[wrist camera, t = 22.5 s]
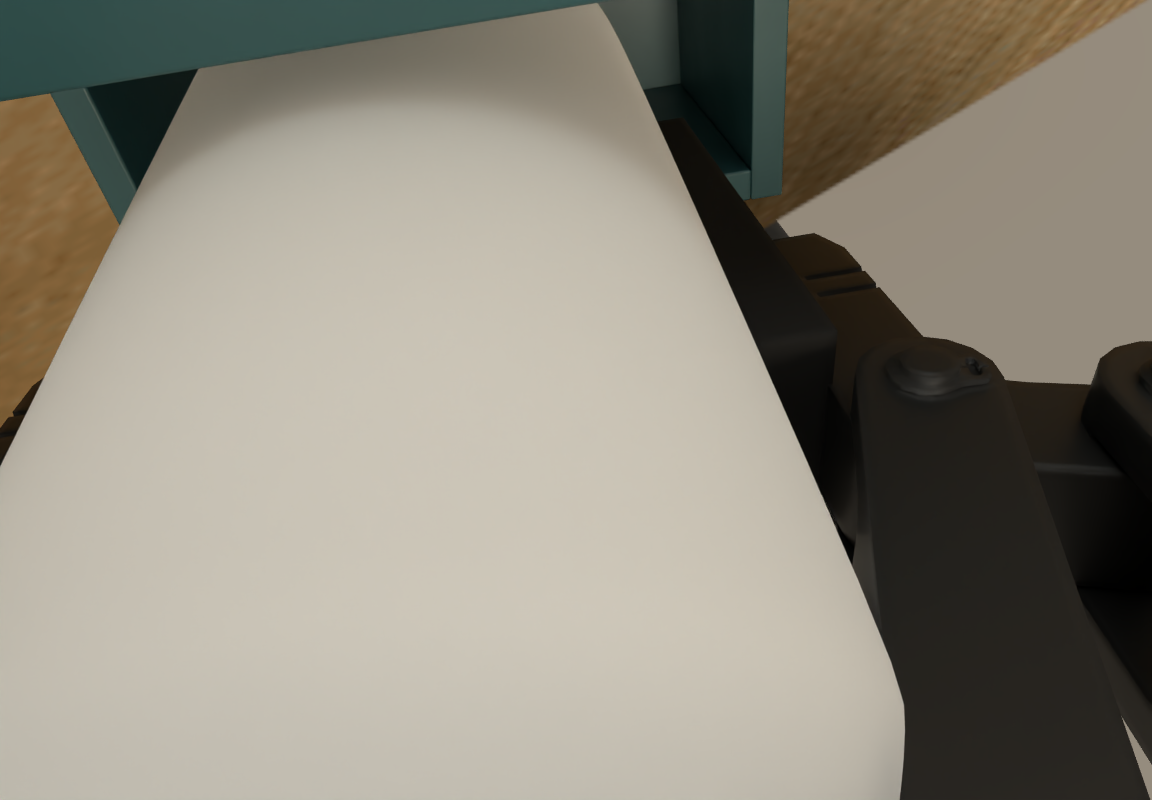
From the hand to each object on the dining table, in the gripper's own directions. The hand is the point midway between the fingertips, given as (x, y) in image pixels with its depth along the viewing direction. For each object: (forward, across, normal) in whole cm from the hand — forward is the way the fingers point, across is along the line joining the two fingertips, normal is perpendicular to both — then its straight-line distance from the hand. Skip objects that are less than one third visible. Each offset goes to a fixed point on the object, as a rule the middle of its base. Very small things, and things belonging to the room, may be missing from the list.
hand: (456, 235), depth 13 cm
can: (+1, 0, +2) cm, 2 cm away
